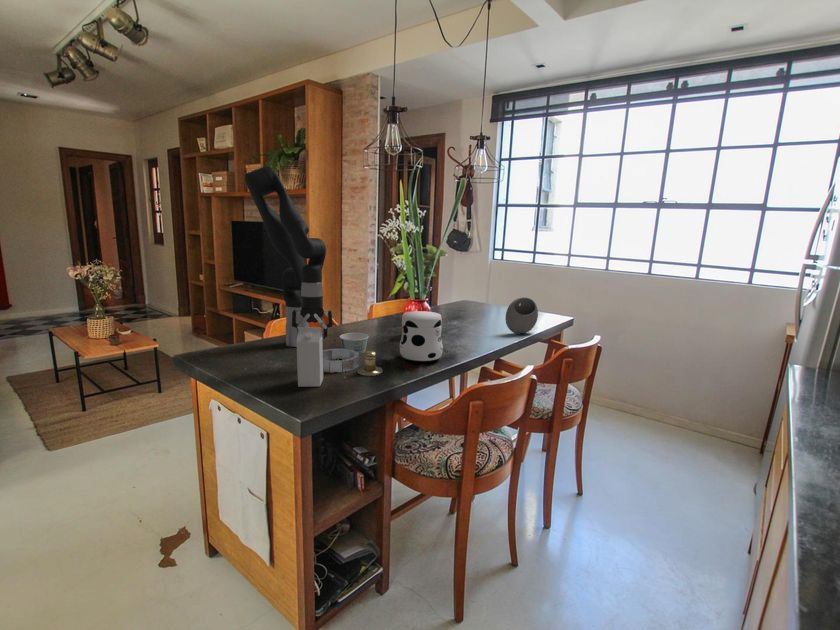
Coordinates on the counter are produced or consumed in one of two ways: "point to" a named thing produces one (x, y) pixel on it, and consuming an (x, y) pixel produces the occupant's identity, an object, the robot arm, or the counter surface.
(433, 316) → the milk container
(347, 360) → the steel ring
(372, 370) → the brass door knob
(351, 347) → the food container
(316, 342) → the milk carton
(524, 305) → the planter
